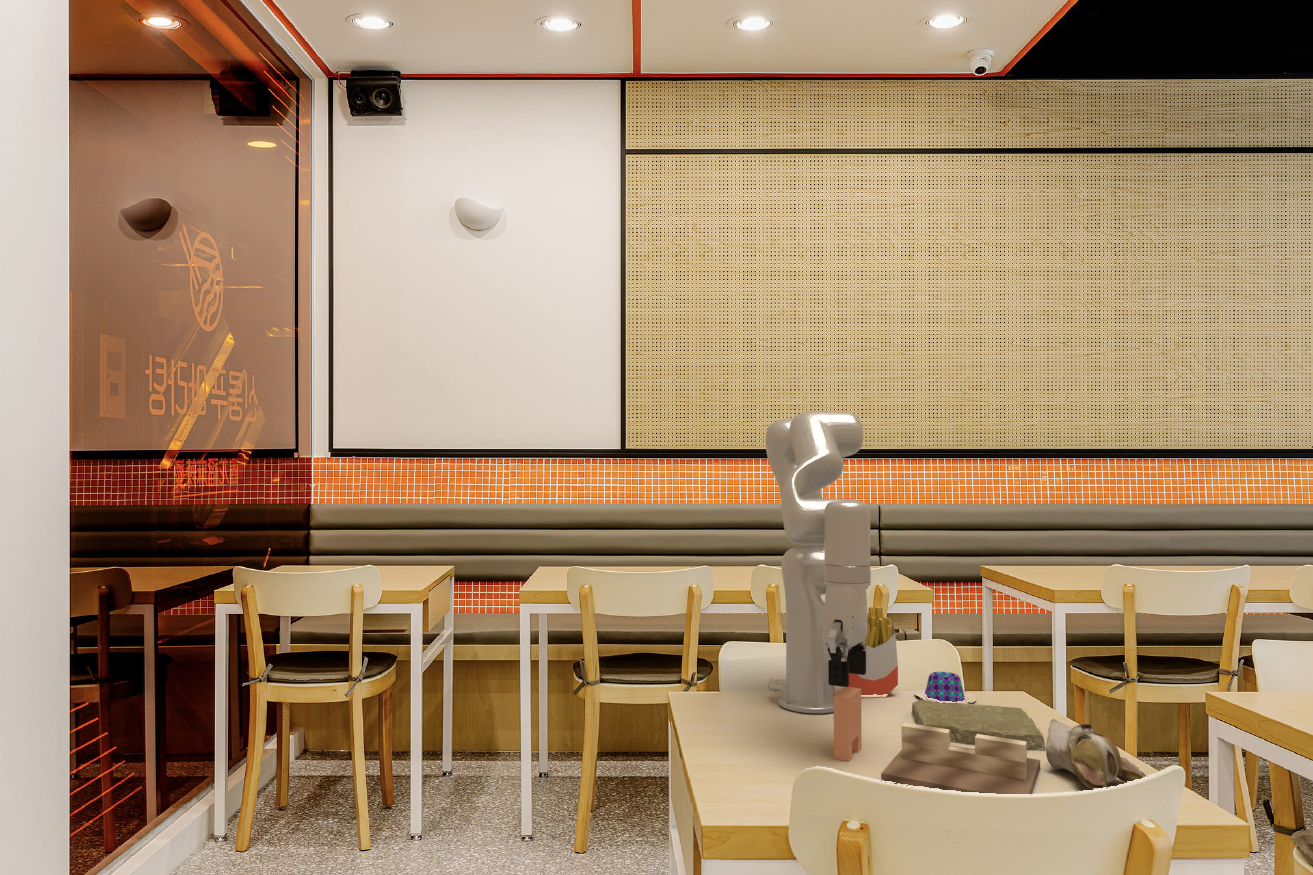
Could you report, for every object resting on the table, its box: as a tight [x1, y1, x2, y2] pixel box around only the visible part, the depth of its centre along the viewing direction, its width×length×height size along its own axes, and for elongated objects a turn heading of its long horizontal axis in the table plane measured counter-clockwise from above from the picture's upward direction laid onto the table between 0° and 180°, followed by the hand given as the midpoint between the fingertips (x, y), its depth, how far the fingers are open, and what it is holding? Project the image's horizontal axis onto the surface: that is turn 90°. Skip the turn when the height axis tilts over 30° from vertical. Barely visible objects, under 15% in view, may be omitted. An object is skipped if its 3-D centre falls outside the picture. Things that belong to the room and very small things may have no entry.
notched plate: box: [833, 687, 862, 762], centre depth 135 cm, size 2×7×10 cm, turn 150°
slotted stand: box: [880, 722, 1041, 795], centre depth 126 cm, size 20×19×6 cm
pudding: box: [914, 671, 977, 704], centre depth 170 cm, size 12×12×5 cm
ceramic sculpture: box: [1045, 718, 1147, 789], centre depth 124 cm, size 11×9×15 cm
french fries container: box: [840, 606, 899, 695], centre depth 172 cm, size 5×11×18 cm, turn 101°
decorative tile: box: [911, 699, 1046, 752], centre depth 148 cm, size 19×20×4 cm
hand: (847, 679), depth 136 cm, fingers open, 9 cm apart
